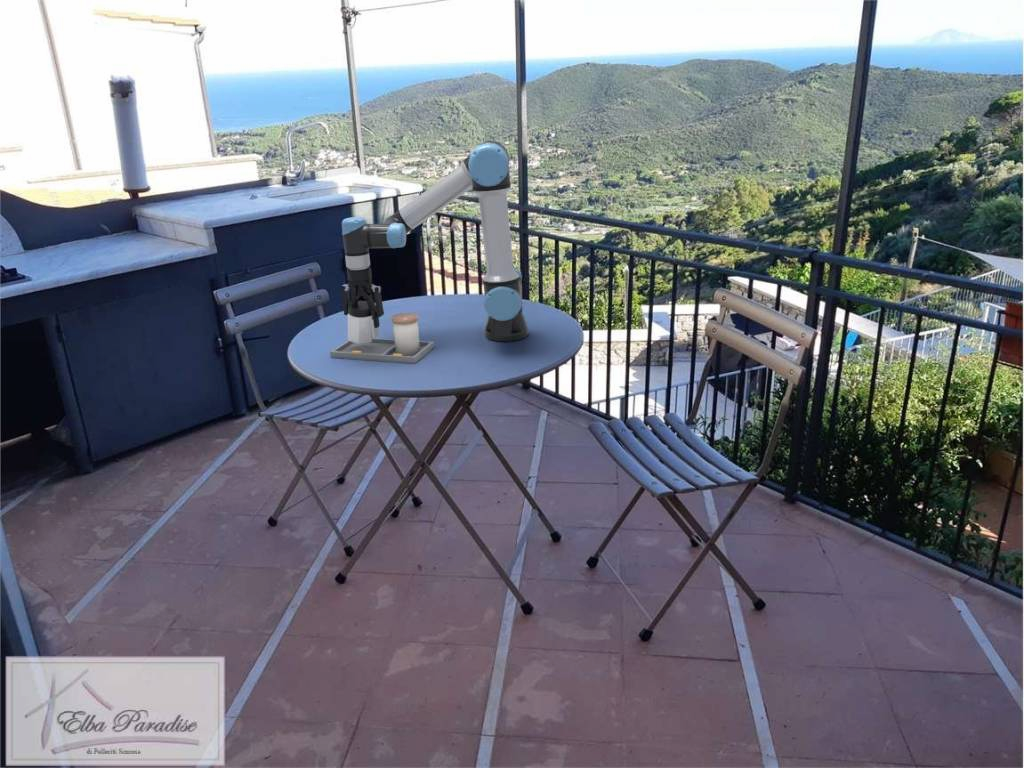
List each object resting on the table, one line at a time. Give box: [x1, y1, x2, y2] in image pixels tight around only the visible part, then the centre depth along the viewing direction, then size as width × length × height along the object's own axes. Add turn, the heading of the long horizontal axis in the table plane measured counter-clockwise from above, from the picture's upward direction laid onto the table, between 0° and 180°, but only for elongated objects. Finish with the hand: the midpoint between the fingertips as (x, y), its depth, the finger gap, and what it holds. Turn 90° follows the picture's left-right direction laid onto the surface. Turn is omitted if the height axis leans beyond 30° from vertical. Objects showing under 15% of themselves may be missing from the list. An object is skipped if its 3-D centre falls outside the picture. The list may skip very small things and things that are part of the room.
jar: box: [347, 300, 373, 344], centre depth 245 cm, size 9×8×12 cm
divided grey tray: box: [329, 337, 435, 365], centre depth 246 cm, size 30×16×3 cm, turn 73°
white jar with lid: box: [391, 312, 420, 356], centre depth 242 cm, size 8×8×12 cm
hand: (366, 336), depth 246 cm, fingers closed on jar, 6 cm apart
